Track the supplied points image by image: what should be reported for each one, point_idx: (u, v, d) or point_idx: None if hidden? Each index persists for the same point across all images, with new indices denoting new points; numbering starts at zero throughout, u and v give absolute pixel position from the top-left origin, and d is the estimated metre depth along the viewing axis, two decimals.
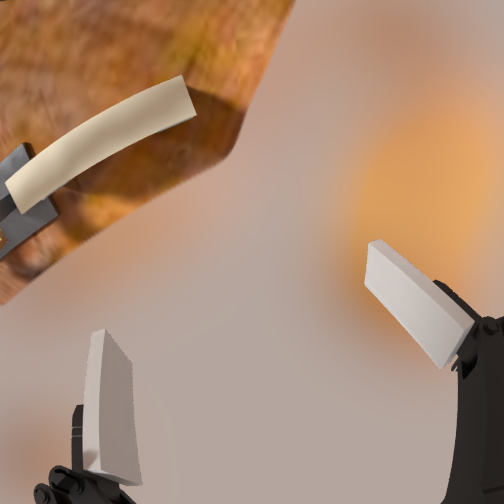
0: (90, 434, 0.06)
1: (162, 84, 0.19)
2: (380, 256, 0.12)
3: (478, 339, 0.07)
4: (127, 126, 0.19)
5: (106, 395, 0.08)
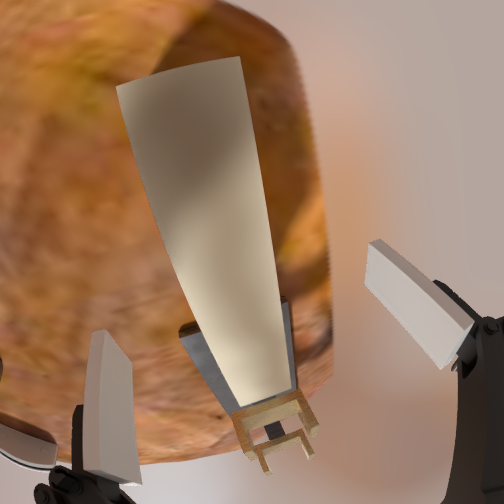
0: (90, 434, 0.06)
1: (132, 136, 0.07)
2: (380, 255, 0.12)
3: (478, 339, 0.07)
4: (225, 226, 0.10)
5: (106, 395, 0.08)
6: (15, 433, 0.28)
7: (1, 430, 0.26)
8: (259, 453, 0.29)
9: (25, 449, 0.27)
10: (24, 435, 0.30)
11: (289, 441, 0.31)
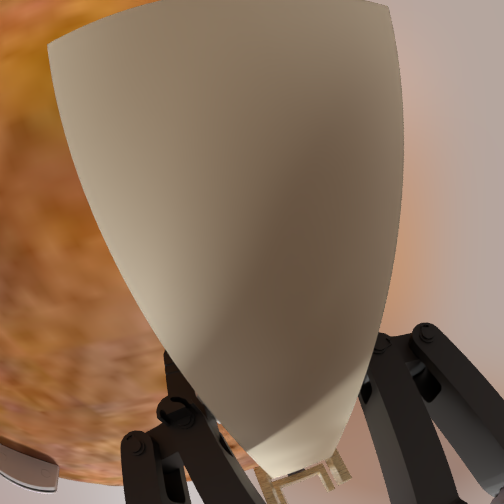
0: None
1: (96, 194, 0.02)
2: None
3: None
4: (311, 358, 0.05)
5: None
6: (15, 454, 0.24)
7: (0, 450, 0.21)
8: (277, 489, 0.24)
9: (25, 471, 0.22)
10: (24, 456, 0.26)
11: (308, 476, 0.26)
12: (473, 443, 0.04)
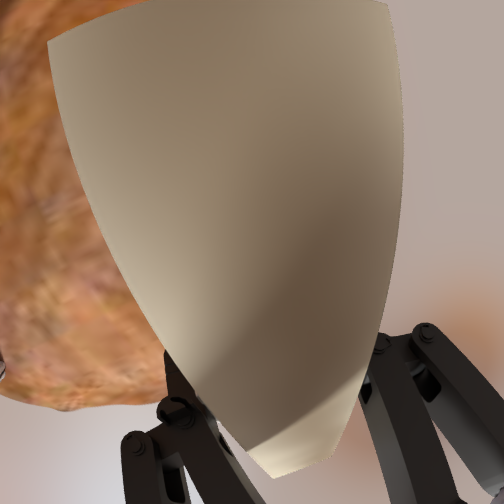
0: None
1: (95, 190, 0.02)
2: None
3: None
4: (311, 357, 0.05)
5: None
6: None
7: None
8: None
9: None
10: None
11: None
12: (473, 443, 0.04)
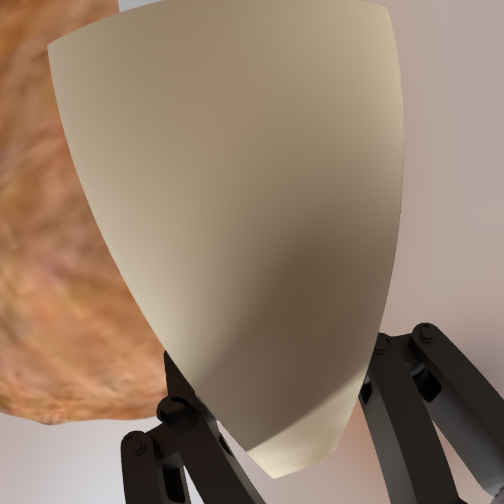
0: None
1: (96, 194, 0.02)
2: None
3: None
4: (312, 358, 0.05)
5: None
6: None
7: None
8: None
9: None
10: None
11: None
12: (473, 443, 0.04)
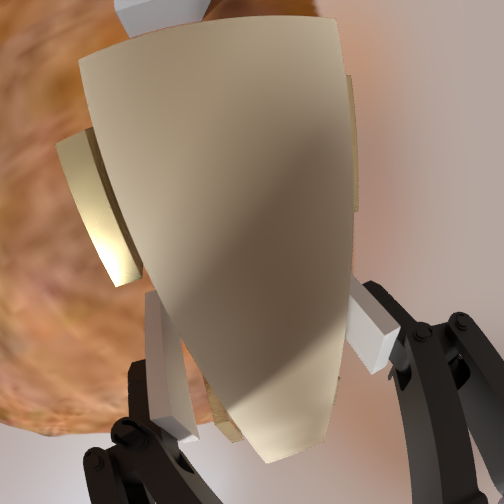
0: (156, 382, 0.08)
1: (113, 167, 0.03)
2: None
3: (409, 350, 0.08)
4: (287, 317, 0.06)
5: (167, 347, 0.10)
6: None
7: None
8: None
9: None
10: None
11: None
12: (493, 433, 0.04)
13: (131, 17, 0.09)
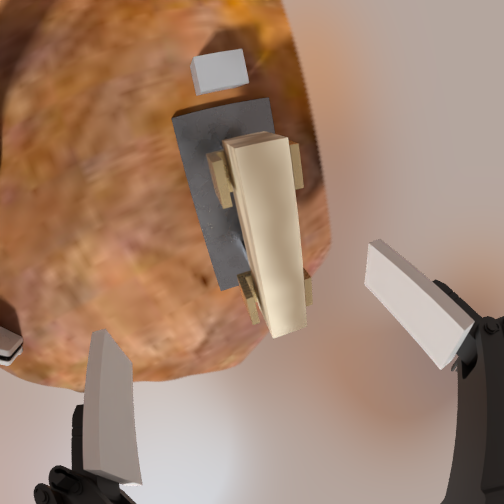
0: (90, 434, 0.06)
1: (241, 172, 0.19)
2: (380, 255, 0.12)
3: (478, 339, 0.07)
4: (278, 214, 0.21)
5: (106, 395, 0.08)
6: None
7: None
8: (242, 280, 0.30)
9: None
10: None
11: None
12: None
13: (205, 92, 0.25)
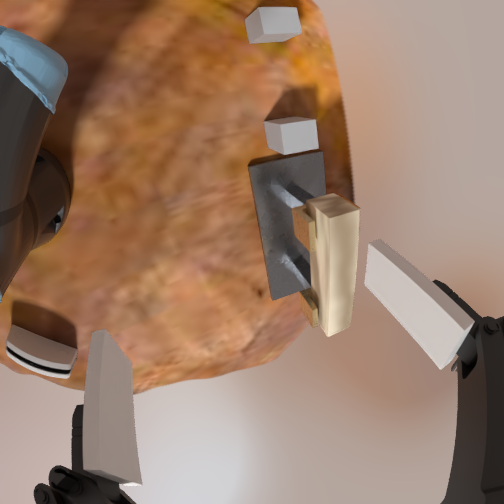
0: (90, 434, 0.06)
1: (330, 232, 0.29)
2: (380, 255, 0.12)
3: (478, 339, 0.07)
4: (346, 257, 0.31)
5: (106, 395, 0.08)
6: (33, 335, 0.39)
7: (18, 331, 0.37)
8: (305, 296, 0.40)
9: (41, 349, 0.37)
10: (42, 338, 0.41)
11: None
12: None
13: None
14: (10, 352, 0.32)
